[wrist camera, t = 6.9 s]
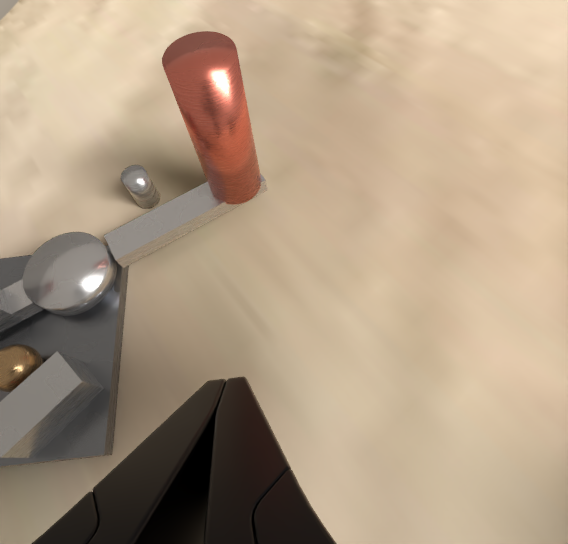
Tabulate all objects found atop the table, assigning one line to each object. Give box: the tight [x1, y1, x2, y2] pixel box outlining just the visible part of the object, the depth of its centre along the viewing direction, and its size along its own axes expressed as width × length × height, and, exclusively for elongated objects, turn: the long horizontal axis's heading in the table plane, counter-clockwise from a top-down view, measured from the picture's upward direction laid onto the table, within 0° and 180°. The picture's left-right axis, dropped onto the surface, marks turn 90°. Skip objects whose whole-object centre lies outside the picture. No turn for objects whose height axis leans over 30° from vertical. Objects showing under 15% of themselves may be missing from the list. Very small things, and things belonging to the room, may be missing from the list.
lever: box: [0, 31, 267, 333], centre depth 19 cm, size 19×5×9 cm, turn 122°
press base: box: [0, 165, 160, 467], centre depth 22 cm, size 11×17×3 cm
